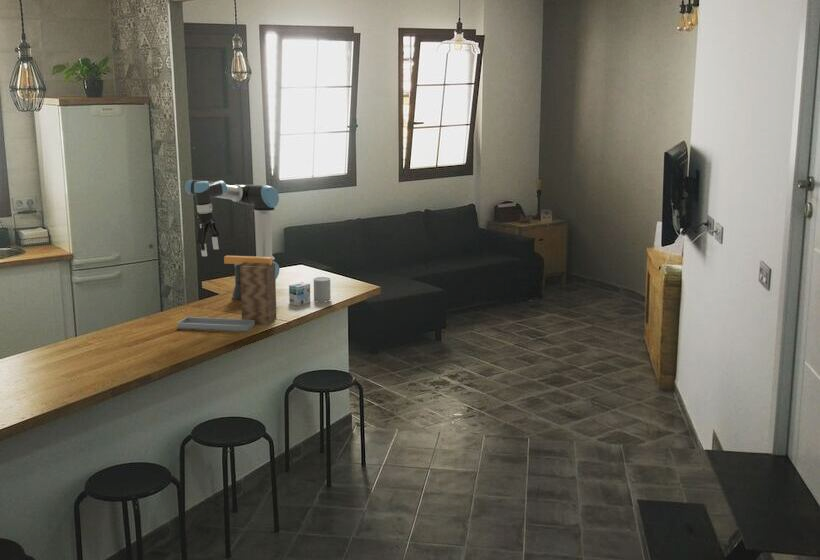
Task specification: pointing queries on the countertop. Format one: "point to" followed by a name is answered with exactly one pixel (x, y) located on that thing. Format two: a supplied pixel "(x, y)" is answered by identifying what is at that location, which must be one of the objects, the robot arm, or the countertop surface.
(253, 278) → the brown zigzag tall box
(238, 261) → the pin
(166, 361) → the countertop surface
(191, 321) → the tray
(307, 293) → the light bulb box
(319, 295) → the grey cylinder
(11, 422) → the countertop surface
